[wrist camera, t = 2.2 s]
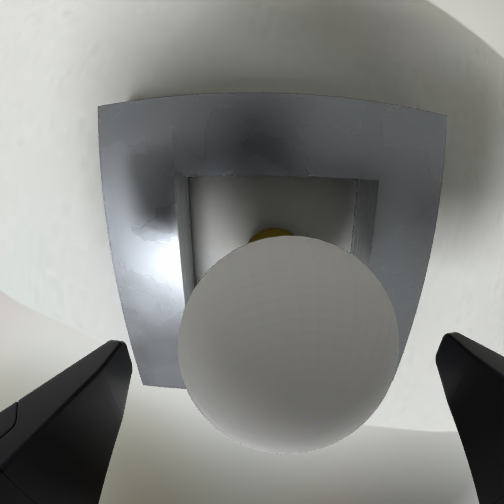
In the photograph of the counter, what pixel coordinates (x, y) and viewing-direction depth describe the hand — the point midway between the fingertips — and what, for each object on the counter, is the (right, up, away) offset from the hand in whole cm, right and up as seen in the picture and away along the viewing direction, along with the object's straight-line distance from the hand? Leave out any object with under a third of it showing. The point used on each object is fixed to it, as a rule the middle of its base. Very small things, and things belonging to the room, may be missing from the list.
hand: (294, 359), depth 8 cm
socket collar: (0, +3, +7) cm, 8 cm away
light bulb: (0, +3, +7) cm, 8 cm away
